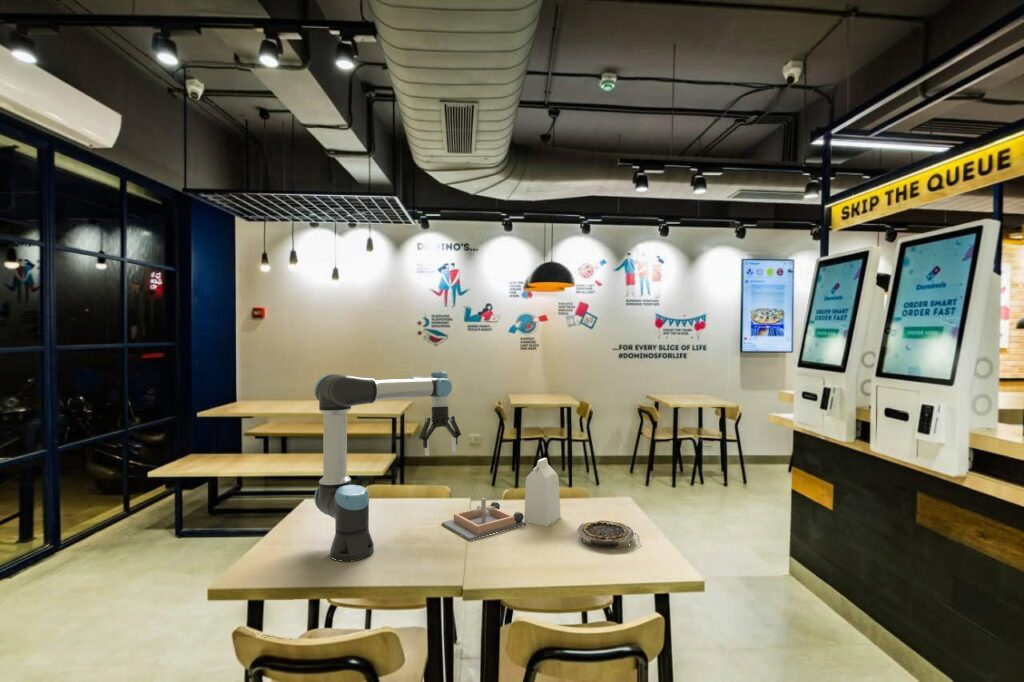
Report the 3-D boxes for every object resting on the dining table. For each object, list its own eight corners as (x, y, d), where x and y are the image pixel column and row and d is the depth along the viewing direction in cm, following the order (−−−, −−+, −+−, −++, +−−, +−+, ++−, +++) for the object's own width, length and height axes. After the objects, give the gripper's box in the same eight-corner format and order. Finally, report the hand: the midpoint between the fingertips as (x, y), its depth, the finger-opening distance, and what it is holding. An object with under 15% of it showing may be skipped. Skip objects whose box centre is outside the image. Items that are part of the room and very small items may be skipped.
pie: (641, 558, 180) (641, 545, 180) (565, 552, 186) (564, 539, 186) (640, 530, 207) (640, 517, 207) (573, 525, 214) (573, 513, 214)
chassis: (469, 541, 195) (469, 528, 195) (441, 524, 213) (441, 512, 213) (526, 524, 212) (526, 512, 212) (495, 510, 230) (495, 499, 230)
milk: (548, 526, 211) (547, 463, 211) (524, 520, 217) (524, 460, 217) (560, 517, 221) (560, 458, 221) (537, 512, 227) (537, 455, 227)
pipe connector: (468, 520, 215) (468, 497, 215) (489, 516, 219) (489, 493, 219) (477, 528, 206) (477, 503, 206) (499, 524, 210) (499, 500, 210)
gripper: (459, 404, 238) (460, 450, 236) (410, 407, 223) (411, 455, 221) (467, 404, 232) (468, 451, 230) (418, 407, 217) (419, 457, 215)
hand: (440, 453), depth 226 cm, fingers open, 13 cm apart
